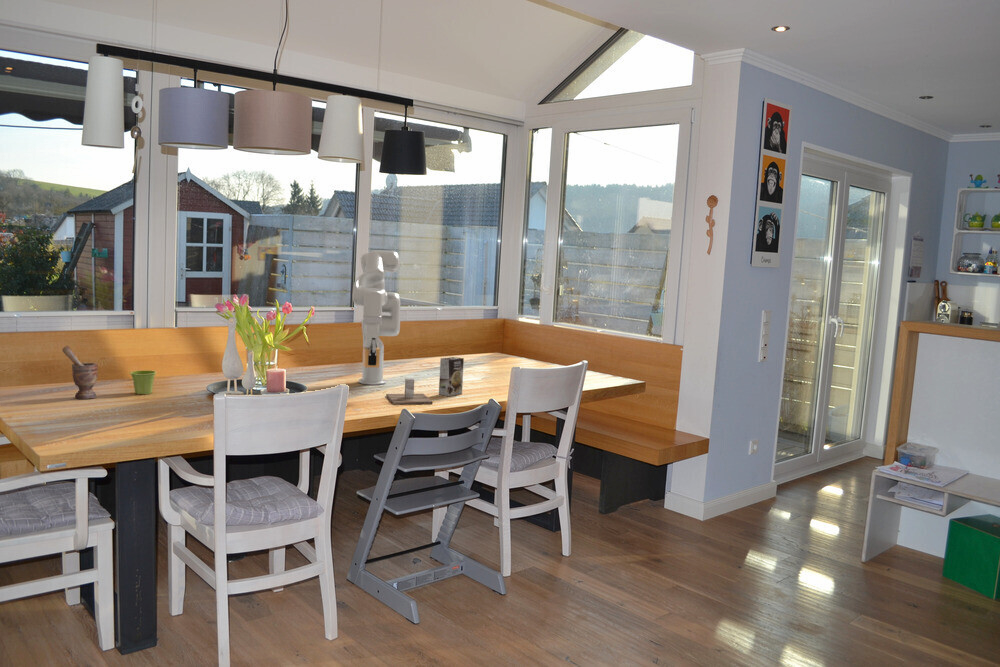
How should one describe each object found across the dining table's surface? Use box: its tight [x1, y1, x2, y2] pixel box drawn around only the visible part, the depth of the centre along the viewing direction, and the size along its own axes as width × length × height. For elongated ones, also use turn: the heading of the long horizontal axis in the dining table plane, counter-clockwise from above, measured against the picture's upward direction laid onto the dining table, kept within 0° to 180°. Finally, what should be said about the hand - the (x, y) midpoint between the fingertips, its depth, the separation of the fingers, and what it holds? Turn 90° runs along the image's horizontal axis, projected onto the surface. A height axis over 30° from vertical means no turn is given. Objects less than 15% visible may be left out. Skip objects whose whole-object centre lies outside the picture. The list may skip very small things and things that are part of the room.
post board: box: [385, 377, 433, 406], centre depth 321 cm, size 18×16×9 cm
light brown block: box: [362, 346, 380, 367], centre depth 317 cm, size 6×6×8 cm
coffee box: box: [438, 356, 465, 397], centre depth 338 cm, size 9×6×16 cm
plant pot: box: [130, 370, 157, 395], centre depth 308 cm, size 9×9×9 cm
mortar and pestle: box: [62, 345, 98, 400], centre depth 294 cm, size 12×9×20 cm
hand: (371, 363), depth 317 cm, fingers closed on light brown block, 5 cm apart
